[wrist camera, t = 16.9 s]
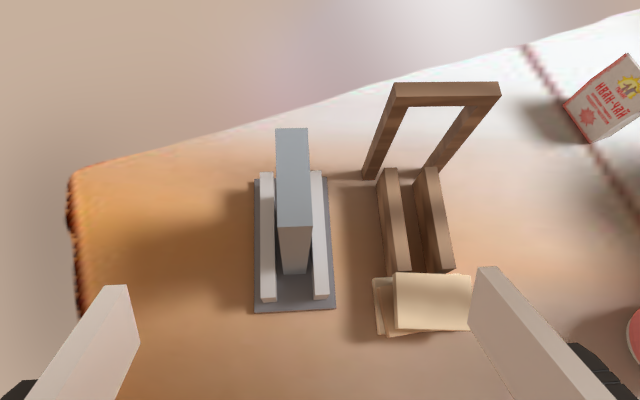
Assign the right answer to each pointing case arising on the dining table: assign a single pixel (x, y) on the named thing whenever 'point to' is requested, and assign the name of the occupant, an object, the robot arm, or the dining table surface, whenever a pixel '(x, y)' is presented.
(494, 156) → the dining table surface
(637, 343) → the container
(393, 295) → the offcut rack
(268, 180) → the slot stand
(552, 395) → the robot arm
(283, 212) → the slate board
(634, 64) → the tea bag
